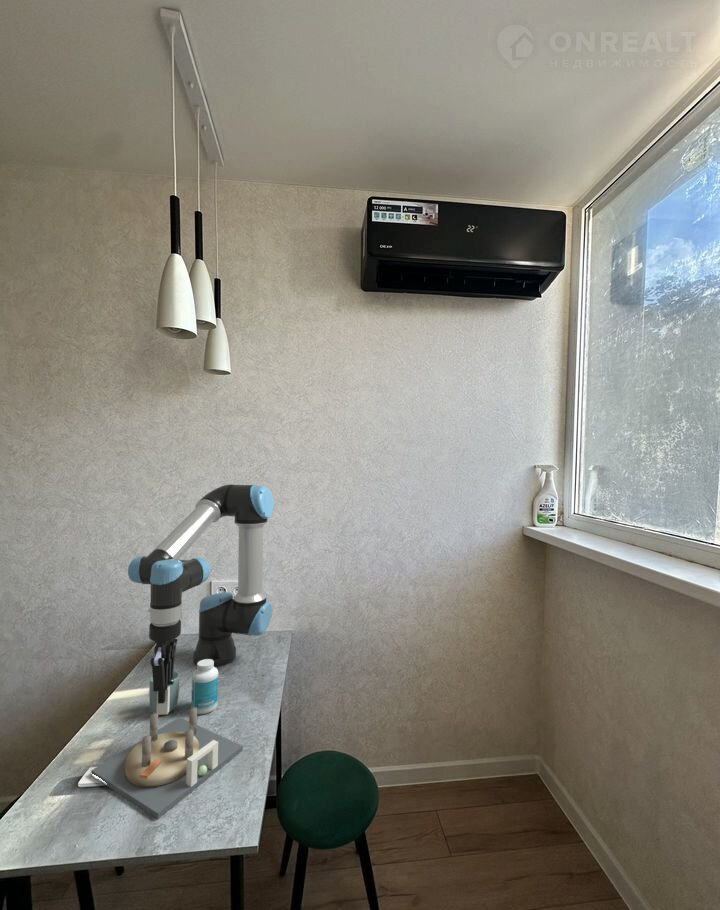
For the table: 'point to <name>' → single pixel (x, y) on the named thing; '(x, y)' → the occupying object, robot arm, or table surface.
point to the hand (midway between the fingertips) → (162, 712)
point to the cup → (173, 693)
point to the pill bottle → (205, 687)
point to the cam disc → (162, 754)
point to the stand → (166, 796)
